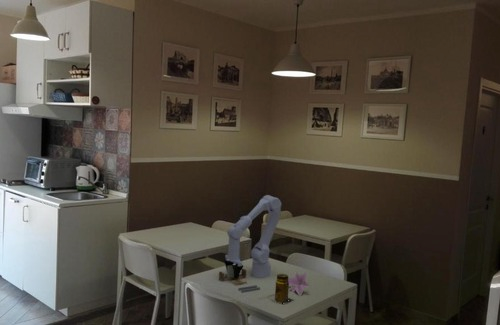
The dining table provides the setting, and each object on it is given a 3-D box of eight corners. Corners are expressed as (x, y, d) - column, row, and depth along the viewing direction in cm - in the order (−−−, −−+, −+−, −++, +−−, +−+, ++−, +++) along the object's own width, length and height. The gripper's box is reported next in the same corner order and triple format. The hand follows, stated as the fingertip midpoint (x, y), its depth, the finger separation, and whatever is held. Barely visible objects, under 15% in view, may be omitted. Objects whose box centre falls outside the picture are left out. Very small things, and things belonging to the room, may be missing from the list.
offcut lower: (242, 282, 230) (242, 280, 230) (247, 285, 225) (247, 283, 225) (230, 284, 226) (230, 282, 226) (235, 287, 222) (235, 285, 222)
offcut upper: (241, 280, 229) (241, 278, 229) (246, 283, 226) (246, 281, 226) (231, 282, 226) (231, 280, 226) (237, 285, 222) (237, 283, 222)
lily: (283, 289, 227) (281, 276, 222) (302, 278, 231) (300, 265, 226) (297, 305, 218) (295, 291, 213) (316, 293, 222) (315, 279, 217)
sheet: (237, 279, 234) (237, 264, 233) (238, 280, 233) (238, 265, 232) (226, 281, 231) (227, 265, 230) (227, 281, 230) (228, 266, 229)
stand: (255, 288, 224) (255, 283, 224) (264, 293, 217) (264, 288, 217) (234, 291, 218) (234, 286, 217) (242, 297, 211) (242, 292, 211)
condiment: (271, 300, 209) (272, 275, 208) (281, 295, 216) (283, 271, 215) (283, 305, 205) (285, 279, 204) (294, 300, 211) (295, 275, 210)
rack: (241, 277, 238) (241, 267, 238) (254, 286, 226) (255, 275, 226) (217, 281, 231) (217, 270, 231) (229, 290, 219) (230, 279, 219)
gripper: (220, 247, 235) (219, 272, 236) (233, 254, 222) (232, 281, 223) (232, 245, 238) (231, 271, 239) (246, 253, 226) (244, 279, 227)
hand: (232, 276), depth 232 cm, fingers open, 7 cm apart
